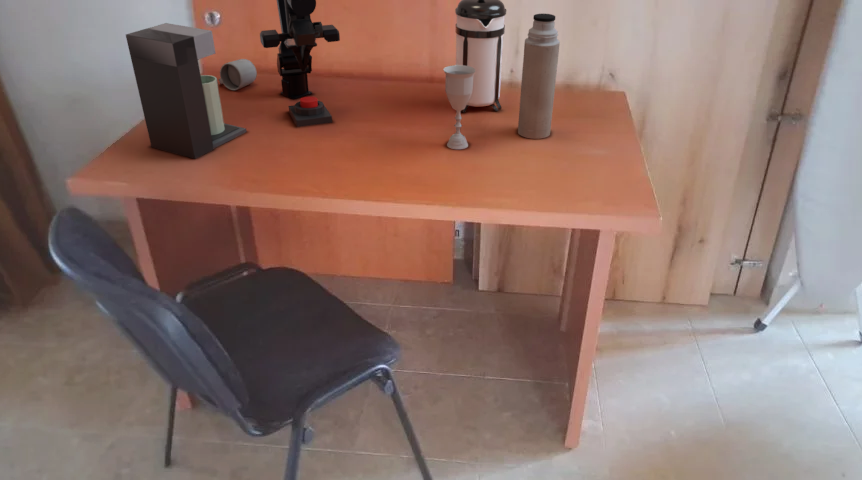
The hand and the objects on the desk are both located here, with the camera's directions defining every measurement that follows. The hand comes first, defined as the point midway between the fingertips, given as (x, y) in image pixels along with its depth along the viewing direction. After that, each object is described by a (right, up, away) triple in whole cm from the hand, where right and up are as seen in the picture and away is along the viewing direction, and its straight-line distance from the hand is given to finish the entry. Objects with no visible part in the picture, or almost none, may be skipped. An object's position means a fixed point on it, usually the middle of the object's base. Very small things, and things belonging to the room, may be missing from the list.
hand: (303, 70), depth 176 cm
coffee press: (+44, -5, +13) cm, 47 cm away
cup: (-21, -16, -6) cm, 28 cm away
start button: (+1, -8, +3) cm, 9 cm away
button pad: (+1, -11, +4) cm, 12 cm away
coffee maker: (-23, -19, -8) cm, 31 cm away
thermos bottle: (+58, -17, -4) cm, 60 cm away
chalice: (+39, -21, -10) cm, 45 cm away
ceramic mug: (-24, +2, +25) cm, 35 cm away
